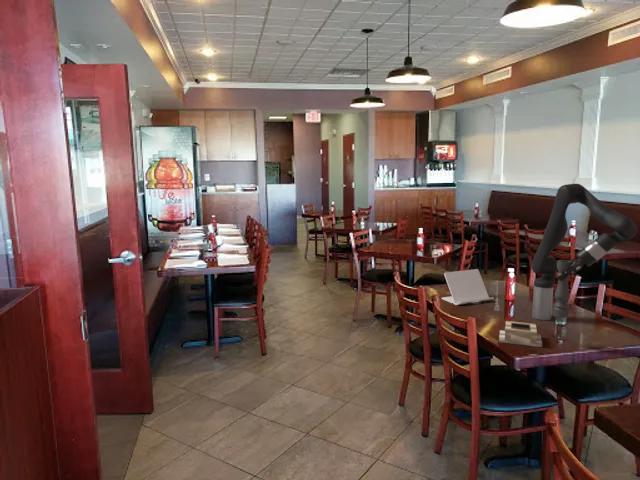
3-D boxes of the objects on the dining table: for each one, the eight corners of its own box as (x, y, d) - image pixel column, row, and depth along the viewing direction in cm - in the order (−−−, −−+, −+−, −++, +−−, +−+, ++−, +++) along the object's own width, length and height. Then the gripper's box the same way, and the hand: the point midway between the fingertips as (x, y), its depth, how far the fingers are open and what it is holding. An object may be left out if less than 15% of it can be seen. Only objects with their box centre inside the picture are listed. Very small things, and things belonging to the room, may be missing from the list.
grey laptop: (440, 299, 290) (441, 271, 288) (474, 294, 300) (475, 268, 297) (459, 307, 274) (461, 278, 271) (494, 302, 283) (495, 274, 280)
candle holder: (563, 313, 217) (567, 259, 213) (571, 317, 211) (575, 262, 207) (550, 313, 217) (553, 259, 213) (557, 318, 211) (561, 262, 207)
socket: (499, 332, 232) (500, 320, 231) (540, 337, 225) (541, 324, 224) (498, 342, 219) (499, 329, 218) (542, 347, 213) (542, 333, 212)
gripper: (582, 244, 213) (551, 268, 219) (587, 249, 200) (553, 275, 206) (595, 256, 212) (563, 280, 218) (600, 262, 199) (566, 288, 205)
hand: (558, 278), depth 212 cm, fingers closed on candle holder, 5 cm apart
